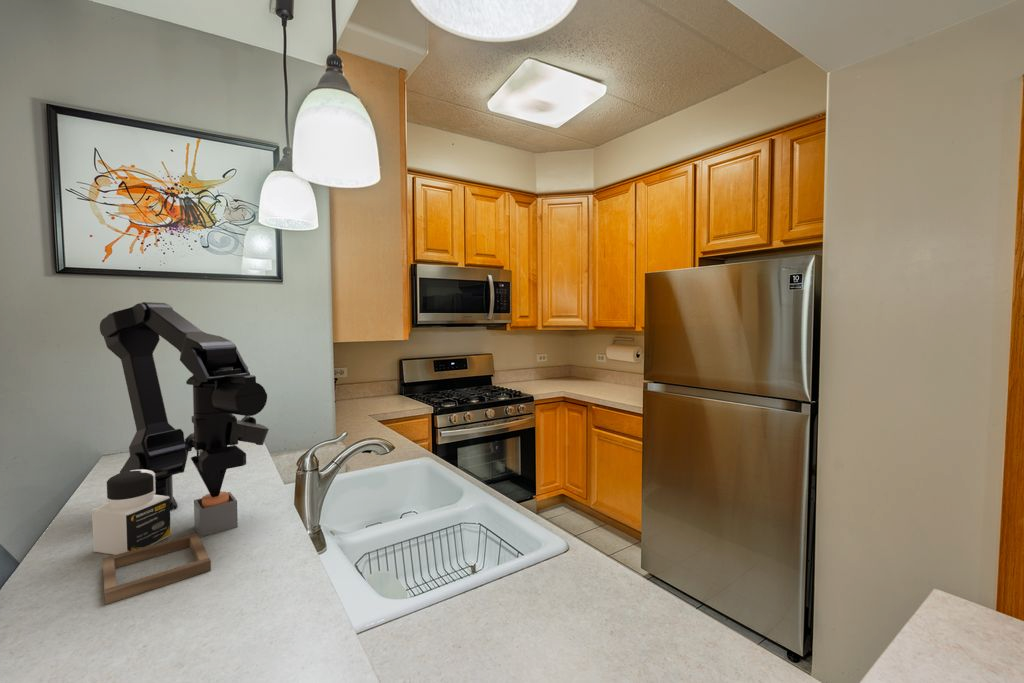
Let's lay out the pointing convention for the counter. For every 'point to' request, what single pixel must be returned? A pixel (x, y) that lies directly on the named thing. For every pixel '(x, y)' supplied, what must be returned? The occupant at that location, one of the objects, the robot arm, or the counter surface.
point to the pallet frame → (154, 580)
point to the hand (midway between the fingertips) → (215, 496)
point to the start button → (215, 499)
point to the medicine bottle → (131, 514)
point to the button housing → (215, 517)
